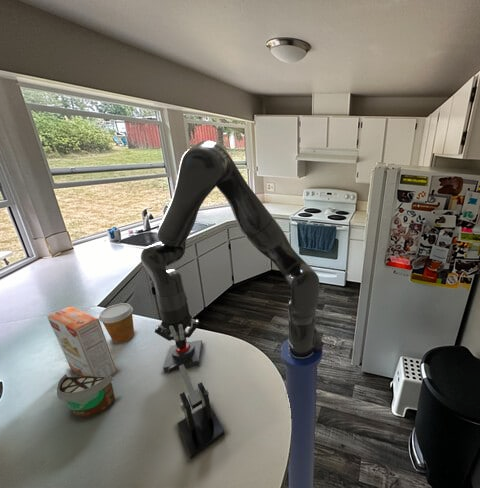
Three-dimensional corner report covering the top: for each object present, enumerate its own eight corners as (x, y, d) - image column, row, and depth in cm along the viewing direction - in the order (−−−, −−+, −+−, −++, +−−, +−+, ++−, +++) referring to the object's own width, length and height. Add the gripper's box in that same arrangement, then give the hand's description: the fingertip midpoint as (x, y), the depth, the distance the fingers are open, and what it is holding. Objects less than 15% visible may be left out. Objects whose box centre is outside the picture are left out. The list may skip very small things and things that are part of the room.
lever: (168, 371, 64) (167, 366, 63) (191, 359, 68) (191, 355, 66) (184, 414, 58) (184, 410, 57) (209, 399, 61) (209, 395, 60)
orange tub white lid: (127, 326, 98) (119, 300, 94) (145, 332, 96) (138, 305, 91) (100, 342, 90) (90, 315, 86) (119, 349, 87) (110, 321, 83)
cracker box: (69, 370, 78) (45, 315, 71) (92, 357, 84) (72, 304, 76) (95, 387, 73) (72, 330, 66) (118, 371, 79) (99, 317, 71)
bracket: (178, 425, 64) (169, 390, 60) (209, 405, 70) (203, 371, 65) (191, 459, 58) (181, 421, 53) (225, 434, 63) (219, 398, 58)
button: (190, 346, 86) (189, 342, 85) (188, 353, 83) (187, 349, 82) (178, 348, 85) (177, 344, 84) (176, 356, 82) (175, 352, 81)
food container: (53, 423, 64) (39, 395, 60) (75, 400, 70) (63, 373, 66) (103, 423, 64) (92, 395, 61) (121, 400, 70) (111, 374, 66)
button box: (202, 344, 91) (201, 335, 89) (199, 365, 82) (197, 356, 81) (171, 350, 88) (169, 341, 86) (164, 373, 79) (162, 363, 78)
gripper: (144, 314, 72) (156, 360, 78) (195, 306, 76) (202, 351, 82) (151, 299, 78) (162, 343, 84) (198, 293, 82) (205, 335, 89)
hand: (182, 347), depth 83 cm, fingers closed
